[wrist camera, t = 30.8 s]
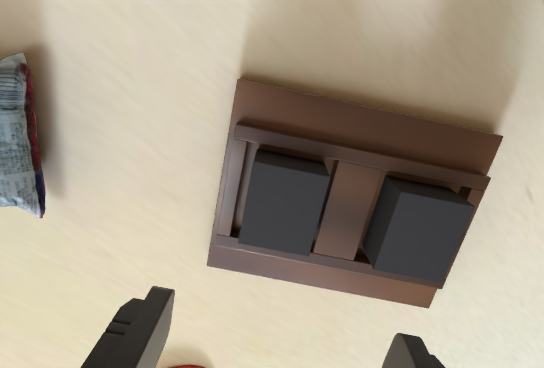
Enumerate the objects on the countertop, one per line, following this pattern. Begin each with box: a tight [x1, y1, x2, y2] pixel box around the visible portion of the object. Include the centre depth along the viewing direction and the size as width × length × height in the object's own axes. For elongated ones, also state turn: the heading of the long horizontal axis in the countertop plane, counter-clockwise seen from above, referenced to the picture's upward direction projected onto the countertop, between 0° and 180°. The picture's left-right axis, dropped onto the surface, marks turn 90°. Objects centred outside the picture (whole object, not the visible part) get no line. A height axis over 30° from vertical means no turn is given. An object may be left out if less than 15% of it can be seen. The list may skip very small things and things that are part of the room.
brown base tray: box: [207, 79, 503, 308], centre depth 26 cm, size 15×19×2 cm
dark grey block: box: [362, 175, 475, 283], centre depth 24 cm, size 6×5×4 cm
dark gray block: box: [238, 149, 331, 257], centre depth 24 cm, size 6×5×4 cm
